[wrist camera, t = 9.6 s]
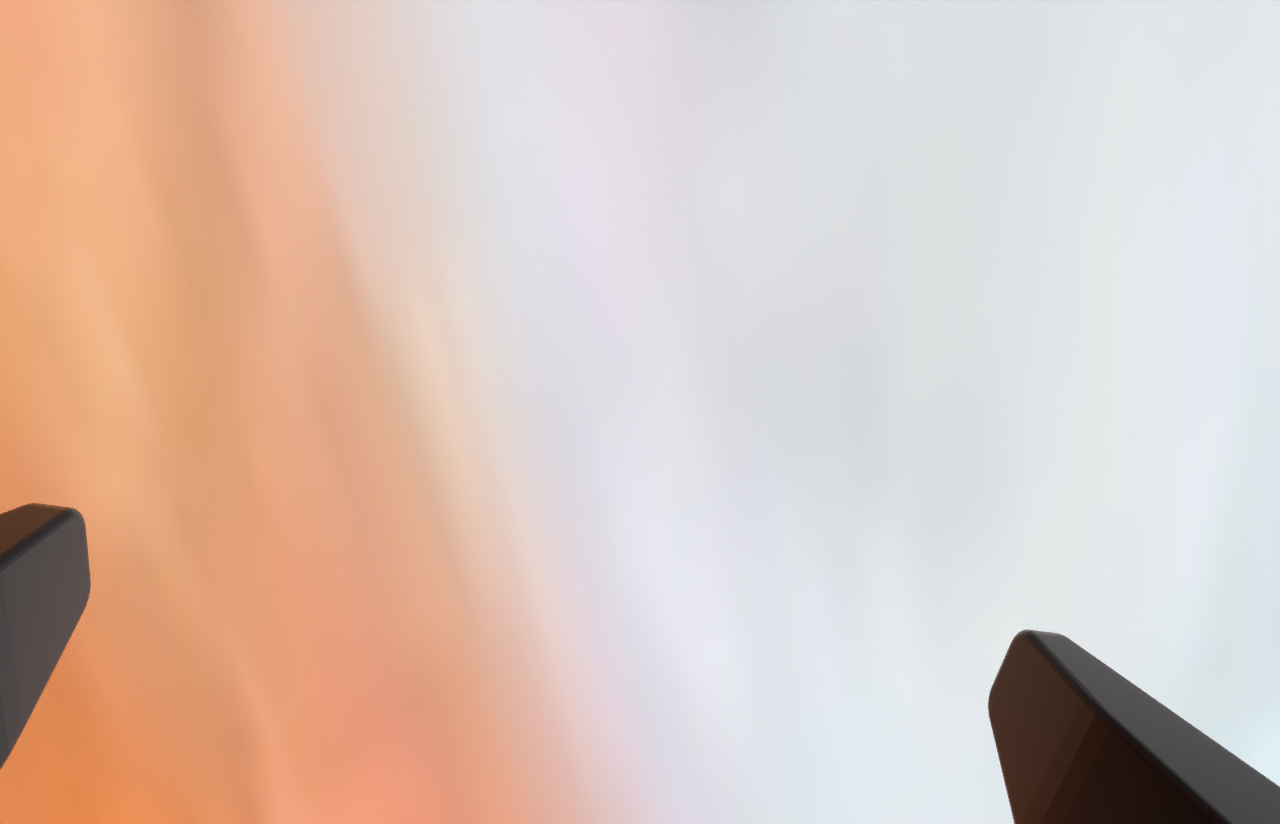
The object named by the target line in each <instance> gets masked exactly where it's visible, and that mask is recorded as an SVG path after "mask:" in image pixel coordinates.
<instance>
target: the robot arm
mask: <svg viewBox="0 0 1280 824" xmlns="http://www.w3.org/2000/svg"><path fill="white" fill-rule="evenodd" d="M90 585H91V583H90V570H89V559H88V548H87V537H86V527H85V522H84V518H83V516H82V514H81V513H80V512H79V511H77V510H76V509H74V508H69V507H61V506H54V505H46V504H38V503H32V504H27V505H24V506H21V507H18V508H16V509H13V510H10V511H8V512H5V513H2V514H0V769H1V768H2V766H3V765H4V763H5V761H6V760H7V758H8V757H9V755H10V753H11V751H12V750H13V748H14V746H15V744H16V742H17V740H18V739H19V737H20V735H21V733H22V731H23V729H24V728H25V726H26V724H27V722H28V720H29V718H30V716H31V714H32V712H33V710H34V708H35V706H36V704H37V702H38V700H39V698H40V696H41V694H42V692H43V690H44V688H45V686H46V684H47V682H48V680H49V678H50V676H51V674H52V672H53V671H54V669H55V667H56V665H57V663H58V661H59V659H60V657H61V655H62V653H63V651H64V649H65V647H66V645H67V643H68V641H69V639H70V637H71V635H72V633H73V631H74V629H75V627H76V625H77V623H78V621H79V619H80V617H81V615H82V614H83V612H84V609H85V607H86V604H87V601H88V598H89V593H90ZM988 710H989V718H990V722H991V726H992V730H993V735H994V739H995V743H996V747H997V752H998V756H999V760H1000V764H1001V769H1002V773H1003V777H1004V781H1005V786H1006V790H1007V794H1008V798H1009V802H1010V807H1011V811H1012V815H1013V819H1014V824H1280V787H1279V786H1278V785H1276V784H1275V783H1274V782H1272V781H1271V780H1269V779H1268V778H1266V777H1265V776H1264V775H1262V774H1261V773H1259V772H1258V771H1256V770H1255V769H1254V768H1252V767H1251V766H1249V765H1248V764H1246V763H1245V762H1244V761H1242V760H1241V759H1239V758H1238V757H1237V756H1235V755H1234V754H1232V753H1231V752H1229V751H1228V750H1227V749H1225V748H1224V747H1222V746H1221V745H1219V744H1218V743H1217V742H1215V741H1214V740H1212V739H1211V738H1209V737H1208V736H1207V735H1205V734H1204V733H1202V732H1201V731H1200V730H1198V729H1197V728H1195V727H1194V726H1192V725H1191V724H1190V723H1188V722H1187V721H1185V720H1184V719H1182V718H1181V717H1180V716H1178V715H1177V714H1175V713H1174V712H1172V711H1171V710H1170V709H1168V708H1167V707H1165V706H1164V705H1162V704H1161V703H1160V702H1158V701H1157V700H1155V699H1154V698H1153V697H1151V696H1150V695H1148V694H1147V693H1145V692H1144V691H1143V690H1141V689H1140V688H1138V687H1137V686H1135V685H1134V684H1133V683H1131V682H1130V681H1128V680H1127V679H1125V678H1124V677H1123V676H1121V675H1120V674H1118V673H1117V672H1115V671H1114V670H1113V669H1111V668H1110V667H1108V666H1107V665H1106V664H1104V663H1103V662H1101V661H1100V660H1098V659H1097V658H1096V657H1094V656H1093V655H1091V654H1090V653H1088V652H1087V651H1086V650H1084V649H1083V648H1081V647H1080V646H1078V645H1077V644H1076V643H1074V642H1073V641H1071V640H1070V639H1069V638H1067V637H1065V636H1064V635H1061V634H1058V633H1051V632H1043V631H1035V630H1023V631H1021V632H1019V633H1018V634H1017V635H1016V636H1015V637H1014V638H1013V640H1012V642H1011V644H1010V647H1009V649H1008V651H1007V653H1006V656H1005V658H1004V660H1003V663H1002V665H1001V667H1000V669H999V672H998V674H997V676H996V679H995V681H994V683H993V685H992V688H991V691H990V695H989V702H988Z"/></svg>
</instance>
